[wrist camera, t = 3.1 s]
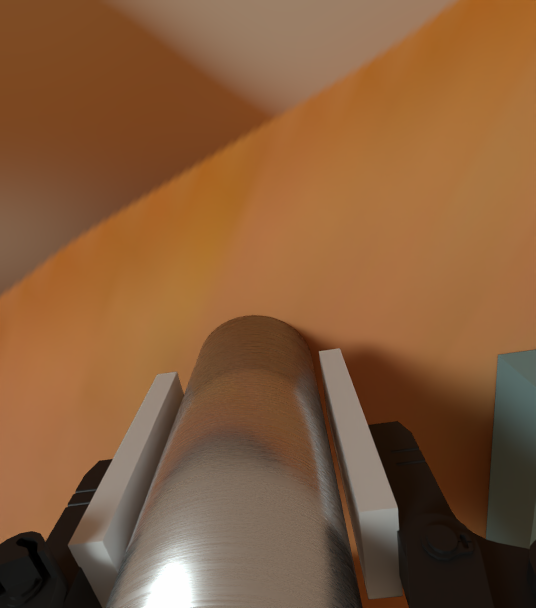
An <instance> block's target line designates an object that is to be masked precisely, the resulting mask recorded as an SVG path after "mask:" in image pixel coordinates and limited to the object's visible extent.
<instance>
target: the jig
mask: <svg viewBox="0 0 536 608" xmlns="http://www.w3.org/2000/svg"><path fill="white" fill-rule="evenodd" d="M486 539H487V540H490V541H494V542H497V543H502V544H507V545H512V546H517V547H522V548H527V549H530V545H531V544H532V543H533V542H534V541H535V540H536V350H530V351H523V352H516V353H508V354H501V355H498V365H497V380H496V395H495V410H494V425H493V440H492V455H491V470H490V485H489V499H488V514H487V529H486Z"/></svg>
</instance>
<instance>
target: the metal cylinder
mask: <svg viewBox="0 0 536 608" xmlns="http://www.w3.org/2000/svg"><path fill="white" fill-rule="evenodd" d="M105 608H362V603H361V598H360V593H359V588H358V583H357V578H356V573H355V568H354V563H353V558H352V553H351V549H350V544H349V539H348V534H347V529H346V524H345V519H344V514H343V509H342V504H341V499H340V495H339V490H338V485H337V480H336V475H335V470H334V465H333V460H332V455H331V450H330V445H329V440H328V436H327V431H326V426H325V421H324V416H323V411H322V406H321V401H320V396H319V391H318V386H317V381H316V377H315V372H314V367H313V362H312V357H311V353H310V350H309V348H308V346H307V344H306V342H305V340H304V339H303V338H302V336H301V335H300V334H299V333H298V332H297V331H296V330H295V329H293V328H292V327H291V326H289V325H287V324H286V323H284V322H282V321H280V320H277V319H274V318H271V317H266V316H257V315H251V316H243V317H238V318H235V319H232V320H229V321H227V322H225V323H223V324H222V325H220V326H219V327H217V328H216V329H215V330H214V331H213V332H212V333H211V334H210V335H209V336H208V337H207V339H206V340H205V342H204V344H203V346H202V348H201V351H200V353H199V356H198V359H197V362H196V364H195V367H194V370H193V372H192V375H191V378H190V380H189V383H188V386H187V388H186V391H185V394H184V397H183V399H182V402H181V405H180V407H179V410H178V413H177V415H176V418H175V421H174V424H173V426H172V429H171V432H170V434H169V437H168V440H167V442H166V445H165V448H164V451H163V453H162V456H161V459H160V461H159V464H158V467H157V469H156V472H155V475H154V478H153V480H152V483H151V486H150V488H149V491H148V494H147V496H146V499H145V502H144V505H143V507H142V510H141V513H140V515H139V518H138V521H137V523H136V526H135V529H134V532H133V534H132V537H131V540H130V542H129V545H128V548H127V550H126V553H125V556H124V559H123V561H122V564H121V567H120V569H119V572H118V575H117V577H116V580H115V583H114V586H113V588H112V591H111V594H110V596H109V599H108V602H107V604H106V607H105Z"/></svg>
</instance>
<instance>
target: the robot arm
mask: <svg viewBox="0 0 536 608" xmlns="http://www.w3.org/2000/svg"><path fill="white" fill-rule="evenodd" d="M319 356H320V364H321V371H322V379H323V386H324V394H325V401H326V409H327V415H328V419H329V424H330V428H331V433H332V437H333V442H334V446H335V451H336V455H337V460H338V464H339V469H340V473H341V478H342V482H343V487H344V491H345V496H346V500H347V505H348V509H349V514H350V518H351V523H352V527H353V532H354V536H355V541H356V545H357V550H358V554H359V559H360V563H361V568H362V572H363V577H364V582H365V586H366V591H367V595H368V599H377V598H388V597H398V596H403V594H402V586H403V589H404V592H405V596H406V599H407V602H408V605H409V608H536V540H535V541H534V542H533V543H532V544H531V545H530V549H527V548H522V547H517V546H512V545H507V544H502V543H497V542H494V541H490V540H487V539H484V538H482V537H480V536H478V535H476V534H474V533H473V532H471V531H470V530H469V529H467V528H466V526H465V525H464V524H462V523H460V522H459V521H458V520H457V519H456V517H455V516H454V514H453V513H452V511H451V509H450V507H449V505H448V504H447V502H446V500H445V498H444V496H443V494H442V492H441V490H440V488H439V486H438V484H437V482H436V480H435V478H434V476H433V474H432V472H431V470H430V468H429V466H428V465H427V463H426V462H425V459H424V457H423V455H422V453H421V451H420V450H419V447H418V445H417V443H416V441H415V439H414V437H413V435H412V433H411V432H410V431H409V430H407V429H406V428H405V427H404V426H403V425H401V424H400V423H399V422H398V421H396V422H388V423H380V424H373V425H368V424H367V422H366V419H365V416H364V413H363V411H362V408H361V405H360V402H359V400H358V397H357V394H356V392H355V389H354V386H353V383H352V381H351V378H350V375H349V372H348V370H347V367H346V364H345V361H344V359H343V356H342V353H341V350H340V348H338V349H331V350H324V351H319ZM183 397H184V394H183V390H182V387H181V384H180V380H179V377H178V373H177V372H171V373H164V374H157V376H156V378H155V380H154V382H153V384H152V385H151V387H150V389H149V391H148V393H147V395H146V397H145V399H144V401H143V403H142V405H141V406H140V408H139V410H138V412H137V414H136V416H135V418H134V420H133V422H132V424H131V426H130V427H129V429H128V431H127V433H126V435H125V437H124V439H123V441H122V443H121V445H120V446H119V448H118V450H117V452H116V454H115V456H114V458H113V459H110V460H102V461H99V462H98V463H97V464H96V465H95V466H94V467H93V468H92V469H90V470H89V471H88V472H87V473H86V474H85V476H84V477H83V479H82V481H81V482H80V484H79V486H78V488H77V489H76V493H75V494H73V496H72V498H71V499H70V501H69V503H68V507H67V508H65V510H64V511H63V513H62V515H61V517H60V518H59V520H58V522H57V523H56V525H55V527H54V528H53V530H52V532H51V534H50V535H49V537H48V539H47V540H46V542H45V540H44V539H43V537H42V535H41V534H40V533H37V532H33V531H31V532H25V533H20V534H18V535H16V536H14V537H11V538H9V539H7V540H6V541H4V542H3V543H2V544H0V608H105V607H106V604H107V602H108V599H109V596H110V594H111V591H112V588H113V586H114V583H115V580H116V577H117V575H118V572H119V569H120V567H121V564H122V561H123V559H124V556H125V553H126V550H127V548H128V545H129V542H130V540H131V537H132V534H133V532H134V529H135V526H136V523H137V521H138V518H139V515H140V513H141V510H142V507H143V505H144V502H145V499H146V496H147V494H148V491H149V488H150V486H151V483H152V480H153V478H154V475H155V472H156V469H157V467H158V464H159V461H160V459H161V456H162V453H163V451H164V448H165V445H166V442H167V440H168V437H169V434H170V432H171V429H172V426H173V424H174V421H175V418H176V415H177V413H178V410H179V407H180V405H181V402H182V399H183Z"/></svg>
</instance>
